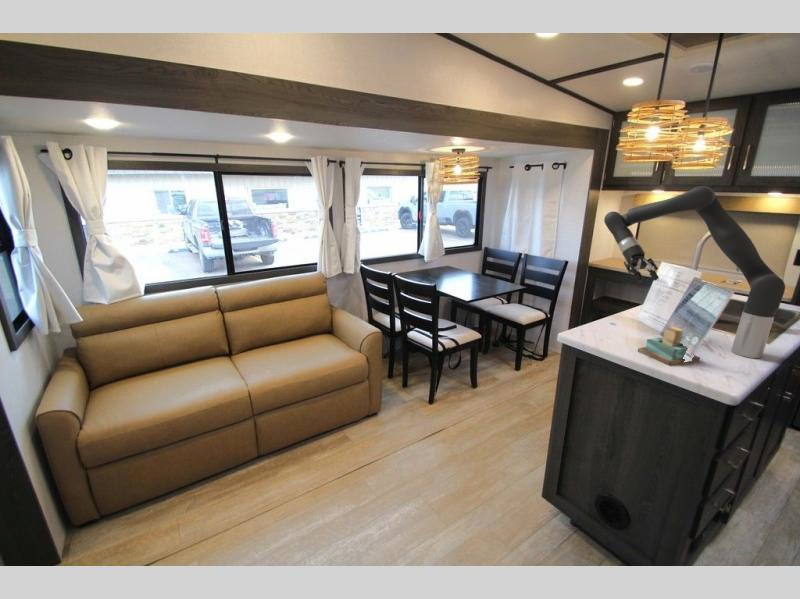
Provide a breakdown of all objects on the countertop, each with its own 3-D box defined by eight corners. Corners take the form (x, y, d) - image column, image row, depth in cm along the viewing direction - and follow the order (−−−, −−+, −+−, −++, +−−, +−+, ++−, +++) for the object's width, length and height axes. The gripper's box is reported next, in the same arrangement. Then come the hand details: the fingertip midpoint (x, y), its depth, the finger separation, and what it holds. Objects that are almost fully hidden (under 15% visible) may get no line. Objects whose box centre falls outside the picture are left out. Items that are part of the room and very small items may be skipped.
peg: (667, 350, 148) (673, 326, 145) (677, 354, 144) (683, 330, 142) (660, 351, 147) (665, 327, 144) (669, 355, 143) (675, 331, 140)
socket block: (667, 347, 154) (670, 335, 153) (699, 360, 142) (702, 347, 141) (637, 351, 150) (640, 338, 148) (668, 365, 138) (671, 351, 136)
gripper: (624, 244, 159) (642, 275, 152) (649, 244, 163) (668, 274, 156) (612, 254, 166) (629, 285, 158) (636, 254, 170) (654, 283, 162)
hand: (648, 279), depth 157 cm, fingers open, 8 cm apart
